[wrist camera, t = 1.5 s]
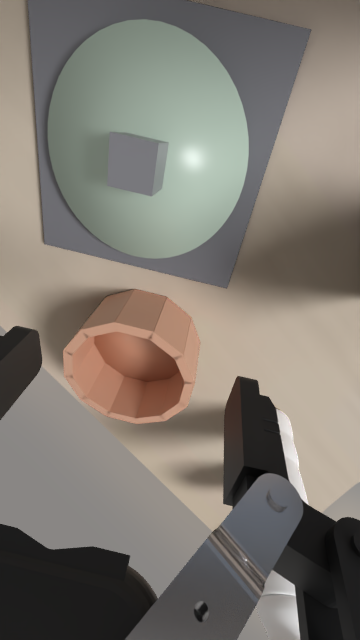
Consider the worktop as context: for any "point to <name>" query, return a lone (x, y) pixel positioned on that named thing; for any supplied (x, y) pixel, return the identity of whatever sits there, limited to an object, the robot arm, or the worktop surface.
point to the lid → (148, 139)
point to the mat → (241, 64)
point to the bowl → (134, 358)
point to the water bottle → (278, 592)
